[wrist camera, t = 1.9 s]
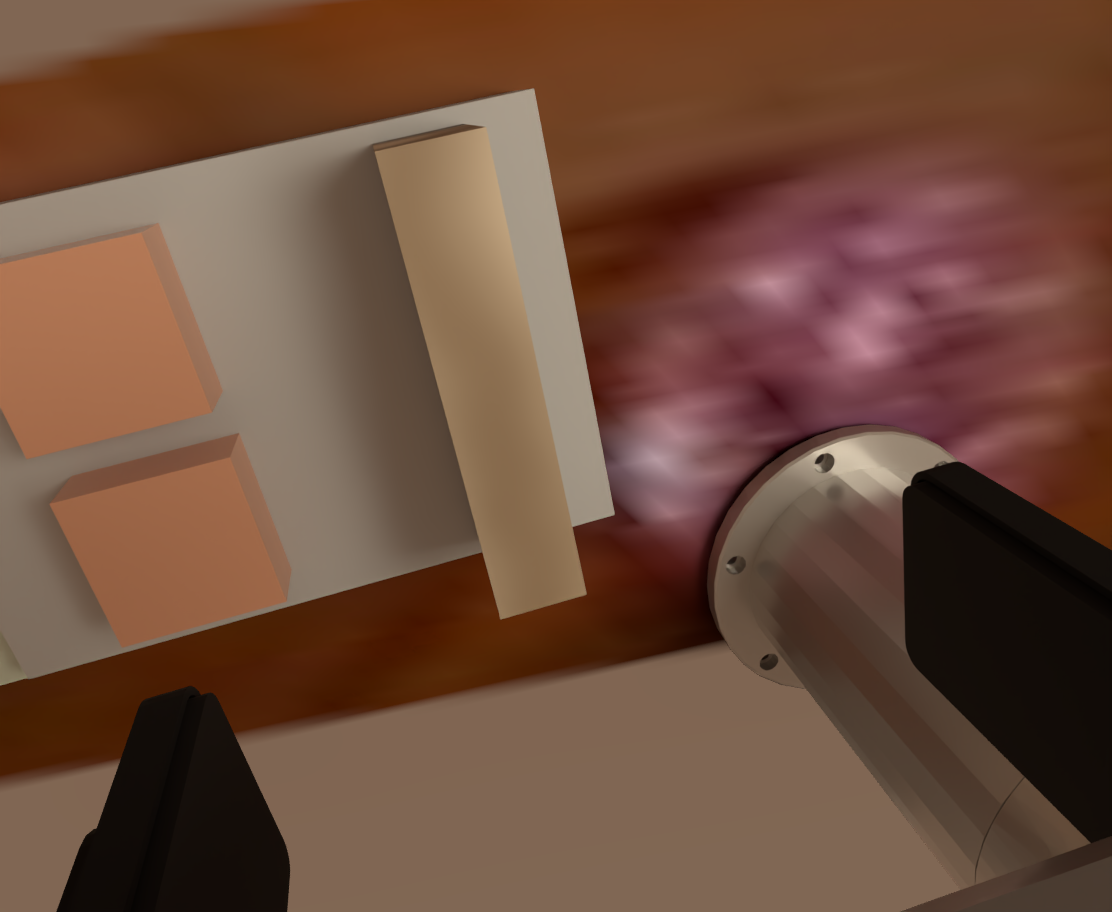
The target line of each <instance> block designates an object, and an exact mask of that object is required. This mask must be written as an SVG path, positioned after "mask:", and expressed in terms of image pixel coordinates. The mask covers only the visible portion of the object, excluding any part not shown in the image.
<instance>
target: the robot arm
mask: <svg viewBox="0 0 1112 912" xmlns="http://www.w3.org/2000/svg"><path fill="white" fill-rule="evenodd" d="M707 591H708V599H709V607H710V610H711V613H712V616H713V619H714V621H715V624H716V627H717V629H718V631H719V632H720V634H721V635H722V637H723V638H724V640H725V642H726V643H727V645H728V646H729V648H730V649H731V650H732V651H733V653H734V654H735V655H736V656H737V657H738V658H739V659H740V661H741V662H742V663H743V664H744V665H745V666H747V667H748V668H749V669H751V670H752V671H753V672H755V673H756V674H758V675H759V676H761V677H764V678H766V679H768V680H771V681H773V682H776V683H778V684H781V685H786V686H792V687H797V688H802V689H804V688H805V689H807V691H808V692H809V693H810V694H811V696H812V697H813V698H814V700H815V701H816V702H817V704H818V705H819V706H820V707H821V709H822V710H823V711H824V713H825V714H826V715H827V716H828V718H829V719H830V720H831V722H832V723H833V724H834V726H835V727H836V728H837V730H838V731H839V732H840V733H841V735H842V736H843V737H844V739H845V740H846V741H847V742H848V744H849V745H850V746H851V748H852V749H853V750H854V752H855V753H856V754H857V756H858V757H859V758H860V760H861V761H862V762H863V763H864V765H865V766H866V767H867V769H868V770H869V771H870V772H871V774H872V775H873V776H874V778H875V779H876V780H877V782H878V783H879V784H880V786H881V787H882V788H883V790H884V791H885V792H886V793H887V795H888V796H889V797H890V799H891V800H892V801H893V802H894V804H895V805H896V806H897V808H898V809H899V810H900V812H901V813H902V814H903V816H904V817H905V818H906V820H907V821H908V822H909V823H910V825H911V826H912V827H913V829H914V830H915V831H916V833H917V834H918V835H919V836H920V838H921V839H922V840H923V842H924V843H925V844H926V845H927V847H928V848H929V849H930V851H931V852H932V853H933V855H934V856H935V857H936V859H937V860H938V861H939V863H940V864H941V865H942V866H943V868H944V869H945V870H946V872H947V873H948V874H949V876H950V877H951V878H952V879H953V881H954V882H955V883H956V885H957V886H958V887H959V888H960V890H959V891H957V892H954V893H951V894H948V895H945V896H943V897H940V898H937V899H934V900H931V901H929V902H926V903H923V904H920V905H917V906H915V907H912V908H909V909H906V910H904V911H901V912H1112V550H1110V549H1108V548H1107V547H1105V546H1103V545H1101V544H1100V543H1098V542H1096V541H1095V540H1093V539H1091V538H1090V537H1088V536H1086V535H1084V534H1083V533H1081V532H1079V531H1078V530H1076V529H1074V528H1073V527H1071V526H1069V525H1067V524H1066V523H1064V522H1062V521H1061V520H1059V519H1057V518H1056V517H1054V516H1052V515H1050V514H1049V513H1047V512H1045V511H1044V510H1042V509H1040V508H1039V507H1037V506H1035V505H1033V504H1032V503H1030V502H1028V501H1027V500H1025V499H1023V498H1022V497H1020V496H1018V495H1017V494H1015V493H1013V492H1011V491H1010V490H1008V489H1006V488H1005V487H1003V486H1001V485H1000V484H998V483H996V482H994V481H993V480H991V479H989V478H988V477H986V476H984V475H983V474H981V473H979V472H977V471H976V470H974V469H972V468H971V467H969V466H967V465H966V464H964V463H961V462H958V460H957V459H956V458H954V457H953V456H952V455H951V454H949V453H948V452H947V451H945V450H944V449H943V448H942V447H940V446H939V445H937V444H935V443H934V442H932V441H930V440H928V439H926V438H924V437H923V436H921V435H919V434H917V433H914V432H911V431H908V430H904V429H901V428H898V427H895V426H883V425H870V424H869V425H860V426H852V427H843V428H840V429H837V430H833V431H830V432H827V433H824V434H820V435H817V436H815V437H813V438H811V439H809V440H807V441H805V442H803V443H801V444H799V445H797V446H795V447H793V448H791V449H789V450H788V451H787V452H785V453H784V454H782V455H781V456H780V457H778V458H777V459H776V460H774V461H773V462H771V463H770V464H769V465H767V466H766V467H765V468H764V469H763V470H762V471H761V472H760V473H759V474H758V475H757V476H756V477H755V478H754V479H753V480H752V481H751V482H750V483H749V484H748V485H747V486H746V487H745V488H744V490H743V491H742V492H741V494H740V495H739V497H738V498H737V499H736V501H735V502H734V504H733V505H732V506H731V508H730V509H729V511H728V513H727V515H726V517H725V519H724V521H723V523H722V525H721V527H720V529H719V531H718V533H717V535H716V538H715V541H714V545H713V548H712V552H711V555H710V559H709V565H708V577H707ZM289 879H290V864H289V856H288V852H287V848H286V845H285V842H284V840H283V838H282V835H281V833H280V831H279V829H278V827H277V825H276V823H275V820H274V818H273V816H272V814H271V812H270V810H269V808H268V805H267V803H266V801H265V799H264V797H263V795H262V793H261V791H260V789H259V786H258V784H257V782H256V780H255V778H254V776H253V774H252V771H251V769H250V767H249V765H248V763H247V761H246V758H245V756H244V754H243V752H242V750H241V748H240V746H239V743H238V741H237V739H236V737H235V735H234V733H233V731H232V729H231V726H230V724H229V722H228V720H227V718H226V716H225V714H224V711H223V709H222V707H221V705H220V703H219V701H218V699H217V697H216V696H215V695H214V694H213V693H207V694H203V695H200V693H199V691H198V690H197V689H196V688H195V687H192V686H189V687H185V688H182V689H179V690H175V691H172V692H168V693H165V694H162V695H158V696H155V697H151V698H148V699H145V700H144V701H142V703H141V704H140V706H139V709H138V711H137V714H136V717H135V720H134V723H133V726H132V729H131V732H130V734H129V737H128V740H127V743H126V746H125V749H124V752H123V754H122V757H121V760H120V763H119V766H118V769H117V772H116V775H115V778H114V780H113V783H112V786H111V789H110V792H109V795H108V798H107V801H106V803H105V807H104V809H103V812H102V815H101V818H100V821H99V824H98V826H97V828H96V829H93V830H92V831H91V832H90V833H89V834H87V835H86V836H85V838H84V840H83V842H82V844H81V846H80V848H79V851H78V854H77V856H76V859H75V862H74V865H73V867H72V870H71V873H70V876H69V879H68V881H67V884H66V887H65V889H64V892H63V895H62V898H61V900H60V903H59V906H58V909H57V912H287V906H288V893H289Z"/></svg>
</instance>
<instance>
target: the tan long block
mask: <svg viewBox="0 0 1112 912" xmlns="http://www.w3.org/2000/svg"><path fill="white" fill-rule="evenodd" d="M373 148H374V152H375V156H376V159H377V163H378V167H379V170H380V174H381V178H382V182H383V185H384V189H385V193H386V196H387V200H388V204H389V208H390V211H391V215H392V219H393V222H394V226H395V230H396V233H397V237H398V241H399V245H400V248H401V252H402V256H403V259H404V263H405V267H406V271H407V274H408V278H409V282H410V285H411V289H412V293H413V296H414V300H415V304H416V308H417V311H418V315H419V319H420V322H421V326H422V330H423V334H424V337H425V341H426V345H427V348H428V352H429V356H430V360H431V363H432V367H433V371H434V374H435V378H436V382H437V385H438V389H439V393H440V397H441V400H442V404H443V408H444V411H445V415H446V419H447V423H448V426H449V430H450V434H451V437H452V441H453V445H454V448H455V452H456V456H457V460H458V463H459V467H460V471H461V474H462V478H463V482H464V486H465V489H466V493H467V497H468V500H469V504H470V508H471V511H472V515H473V519H474V523H475V526H476V530H477V534H478V537H479V541H480V545H481V549H482V552H483V556H484V560H485V563H486V567H487V571H488V574H489V578H490V582H491V585H492V589H493V593H494V596H495V600H496V604H497V607H498V611H499V615H500V618H501V619H504V618H508V617H511V616H515V615H518V614H521V613H525V612H528V611H532V610H535V609H539V608H542V607H545V606H549V605H552V604H556V603H559V602H563V601H566V600H570V599H573V598H576V597H580V596H583V595H587V593H586V589H585V584H584V579H583V575H582V570H581V565H580V561H579V556H578V551H577V547H576V542H575V538H574V533H573V528H572V524H571V519H570V514H569V510H568V505H567V500H566V496H565V491H564V486H563V482H562V477H561V472H560V468H559V463H558V458H557V454H556V449H555V444H554V440H553V435H552V431H551V426H550V421H549V417H548V412H547V407H546V403H545V398H544V393H543V389H542V384H541V379H540V375H539V370H538V365H537V361H536V356H535V351H534V347H533V342H532V337H531V333H530V328H529V324H528V319H527V314H526V310H525V305H524V300H523V296H522V291H521V286H520V282H519V277H518V272H517V268H516V263H515V258H514V254H513V249H512V244H511V240H510V235H509V230H508V226H507V221H506V217H505V212H504V207H503V203H502V198H501V193H500V189H499V184H498V179H497V175H496V170H495V165H494V161H493V156H492V151H491V147H490V142H489V137H488V133H487V128H486V127H483V126H476V125H468V124H460V125H455V126H450V127H446V128H441V129H437V130H432V131H428V132H423V133H419V134H414V135H410V136H405V137H401V138H396V139H391V140H387V141H382V142H378V143H373Z"/></svg>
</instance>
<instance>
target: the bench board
mask: <svg viewBox="0 0 1112 912" xmlns="http://www.w3.org/2000/svg"><path fill="white" fill-rule="evenodd" d="M460 124H468V125H476V126H483V127H486V128H487V133H488V137H489V142H490V147H491V151H492V156H493V161H494V165H495V170H496V175H497V179H498V184H499V189H500V193H501V198H502V203H503V207H504V212H505V217H506V221H507V226H508V230H509V235H510V240H511V244H512V249H513V254H514V258H515V263H516V268H517V272H518V277H519V282H520V286H521V291H522V296H523V300H524V305H525V310H526V314H527V319H528V324H529V328H530V333H531V337H532V342H533V347H534V351H535V356H536V361H537V365H538V370H539V375H540V379H541V384H542V389H543V393H544V398H545V403H546V407H547V412H548V417H549V421H550V426H551V431H552V435H553V440H554V444H555V449H556V454H557V458H558V463H559V468H560V472H561V477H562V482H563V486H564V491H565V496H566V500H567V505H568V510H569V514H570V519H571V524H572V527H573V526H577V525H580V524H584V523H587V522H591V521H594V520H598V519H602V518H605V517H609V516H612V515H615V514H614V508H613V503H612V498H611V493H610V487H609V482H608V477H607V471H606V466H605V461H604V456H603V450H602V445H601V440H600V435H599V429H598V424H597V419H596V413H595V408H594V403H593V398H592V392H591V387H590V382H589V377H588V371H587V366H586V361H585V355H584V350H583V345H582V340H581V334H580V329H579V324H578V318H577V313H576V308H575V303H574V297H573V292H572V287H571V282H570V276H569V271H568V266H567V260H566V255H565V250H564V245H563V239H562V234H561V229H560V224H559V218H558V213H557V208H556V202H555V197H554V192H553V187H552V181H551V176H550V171H549V165H548V160H547V155H546V150H545V144H544V139H543V134H542V129H541V123H540V118H539V113H538V107H537V102H536V97H535V92H534V89H526V90H518V91H511V92H506V93H502V94H497V95H492V96H488V97H483V98H479V99H474V100H469V101H465V102H460V103H456V104H451V105H446V106H442V107H437V108H433V109H428V110H423V111H419V112H414V113H410V114H405V115H400V116H396V117H391V118H387V119H382V120H377V121H373V122H368V123H364V124H359V125H354V126H350V127H345V128H341V129H336V130H331V131H327V132H322V133H318V134H313V135H308V136H304V137H299V138H295V139H290V140H285V141H281V142H276V143H272V144H267V145H262V146H258V147H253V148H249V149H244V150H239V151H235V152H230V153H226V154H221V155H216V156H212V157H207V158H203V159H198V160H193V161H189V162H184V163H180V164H175V165H170V166H166V167H161V168H156V169H152V170H147V171H143V172H138V173H133V174H129V175H124V176H120V177H115V178H110V179H106V180H101V181H97V182H92V183H87V184H83V185H78V186H74V187H69V188H64V189H60V190H55V191H51V192H46V193H41V194H37V195H32V196H28V197H23V198H18V199H14V200H9V201H5V202H0V258H5V257H9V256H13V255H18V254H22V253H27V252H31V251H36V250H40V249H45V248H49V247H53V246H58V245H62V244H67V243H71V242H76V241H80V240H85V239H89V238H94V237H98V236H102V235H107V234H111V233H116V232H120V231H125V230H129V229H134V228H138V227H143V226H147V225H151V224H156V223H159V225H160V228H161V230H162V233H163V236H164V238H165V241H166V244H167V246H168V249H169V251H170V254H171V257H172V259H173V262H174V264H175V267H176V270H177V272H178V275H179V277H180V280H181V283H182V285H183V288H184V290H185V293H186V296H187V298H188V301H189V303H190V306H191V309H192V311H193V314H194V317H195V319H196V322H197V324H198V327H199V330H200V332H201V335H202V337H203V340H204V343H205V345H206V348H207V350H208V353H209V356H210V358H211V361H212V363H213V366H214V369H215V371H216V374H217V376H218V379H219V382H220V384H221V387H222V390H223V392H222V394H221V396H220V398H219V400H218V402H217V404H216V406H215V408H214V410H213V412H212V413H208V414H204V415H201V416H197V417H193V418H189V419H185V420H181V421H177V422H173V423H169V424H165V425H161V426H157V427H153V428H149V429H145V430H141V431H137V432H133V433H129V434H125V435H121V436H117V437H113V438H109V439H105V440H101V441H97V442H93V443H89V444H85V445H81V446H77V447H73V448H69V449H65V450H62V451H58V452H54V453H50V454H46V455H42V456H38V457H34V458H30V459H26V457H25V455H24V453H23V451H22V449H21V447H20V445H19V443H18V441H17V439H16V437H15V435H14V433H13V431H12V429H11V427H10V425H9V423H8V421H7V419H6V417H5V416H4V414H3V412H2V410H1V408H0V631H1V633H2V634H3V636H4V638H5V640H6V641H7V643H8V645H9V647H10V648H11V650H12V652H13V654H14V655H15V657H16V659H17V660H18V662H19V664H20V666H21V667H22V669H23V671H24V673H25V674H26V676H27V678H28V679H32V678H35V677H39V676H42V675H46V674H50V673H53V672H57V671H60V670H64V669H67V668H71V667H75V666H78V665H82V664H85V663H89V662H92V661H96V660H99V659H103V658H107V657H110V656H114V655H117V654H121V653H124V652H128V651H132V650H135V649H139V648H142V647H146V646H149V645H153V644H156V643H160V642H164V641H167V640H171V639H174V638H178V637H181V636H185V635H188V634H192V633H196V632H199V631H203V630H206V629H210V628H213V627H217V626H221V625H224V624H228V623H231V622H235V621H238V620H242V619H245V618H249V617H253V616H256V615H260V614H263V613H267V612H270V611H274V610H278V609H281V608H285V607H288V606H292V605H295V604H299V603H302V602H306V601H310V600H313V599H317V598H320V597H324V596H327V595H331V594H335V593H338V592H342V591H345V590H349V589H352V588H356V587H359V586H363V585H367V584H370V583H374V582H377V581H381V580H384V579H388V578H391V577H395V576H399V575H402V574H406V573H409V572H413V571H416V570H420V569H424V568H427V567H431V566H434V565H438V564H441V563H445V562H448V561H452V560H456V559H459V558H463V557H466V556H470V555H473V554H477V553H481V552H482V549H481V545H480V541H479V537H478V534H477V530H476V526H475V523H474V519H473V515H472V511H471V508H470V504H469V500H468V497H467V493H466V489H465V486H464V482H463V478H462V474H461V471H460V467H459V463H458V460H457V456H456V452H455V448H454V445H453V441H452V437H451V434H450V430H449V426H448V423H447V419H446V415H445V411H444V408H443V404H442V400H441V397H440V393H439V389H438V385H437V382H436V378H435V374H434V371H433V367H432V363H431V360H430V356H429V352H428V348H427V345H426V341H425V337H424V334H423V330H422V326H421V322H420V319H419V315H418V311H417V308H416V304H415V300H414V296H413V293H412V289H411V285H410V282H409V278H408V274H407V271H406V267H405V263H404V259H403V256H402V252H401V248H400V245H399V241H398V237H397V233H396V230H395V226H394V222H393V219H392V215H391V211H390V208H389V204H388V200H387V196H386V193H385V189H384V185H383V182H382V178H381V174H380V170H379V167H378V163H377V159H376V156H375V152H374V148H373V143H378V142H382V141H387V140H391V139H396V138H401V137H405V136H410V135H414V134H419V133H423V132H428V131H432V130H437V129H441V128H446V127H450V126H455V125H460ZM237 433H239V434H240V436H241V439H242V441H243V444H244V447H245V449H246V452H247V454H248V457H249V460H250V462H251V465H252V468H253V470H254V473H255V475H256V478H257V481H258V483H259V486H260V488H261V491H262V494H263V496H264V499H265V501H266V504H267V507H268V509H269V512H270V514H271V517H272V520H273V522H274V525H275V528H276V530H277V533H278V535H279V538H280V541H281V543H282V546H283V548H284V551H285V554H286V556H287V559H288V561H289V564H290V567H291V569H292V571H291V577H290V584H289V590H288V597H287V602H284V603H280V604H276V605H273V606H269V607H266V608H262V609H259V610H255V611H251V612H248V613H244V614H241V615H237V616H234V617H230V618H226V619H223V620H219V621H216V622H212V623H209V624H205V625H201V626H198V627H194V628H191V629H187V630H184V631H180V632H176V633H173V634H169V635H166V636H162V637H159V638H155V639H152V640H148V641H144V642H141V643H137V644H134V645H130V646H127V647H123V648H122V647H121V645H120V643H119V641H118V639H117V637H116V635H115V633H114V631H113V629H112V627H111V625H110V623H109V621H108V619H107V617H106V615H105V613H104V611H103V609H102V607H101V605H100V603H99V601H98V599H97V597H96V595H95V593H94V591H93V590H92V588H91V586H90V584H89V582H88V580H87V578H86V576H85V574H84V572H83V570H82V568H81V566H80V564H79V562H78V560H77V558H76V556H75V554H74V552H73V550H72V548H71V546H70V544H69V542H68V540H67V538H66V536H65V534H64V532H63V530H62V528H61V526H60V524H59V522H58V520H57V518H56V516H55V514H54V512H53V510H52V508H51V506H50V503H51V501H52V500H53V499H54V498H55V496H56V495H57V494H58V492H59V491H60V490H61V489H62V487H63V486H64V485H65V484H66V482H67V481H68V480H69V479H70V477H71V476H73V475H77V474H81V473H85V472H89V471H92V470H96V469H100V468H104V467H108V466H112V465H116V464H120V463H124V462H128V461H132V460H136V459H139V458H143V457H147V456H151V455H155V454H159V453H163V452H167V451H171V450H175V449H179V448H183V447H186V446H190V445H194V444H198V443H202V442H206V441H210V440H214V439H218V438H222V437H226V436H229V435H233V434H237Z"/></svg>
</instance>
